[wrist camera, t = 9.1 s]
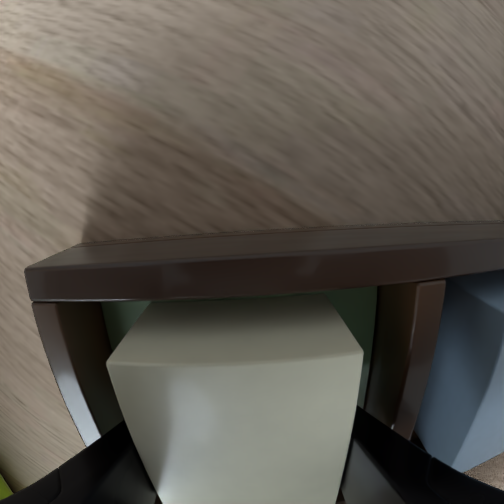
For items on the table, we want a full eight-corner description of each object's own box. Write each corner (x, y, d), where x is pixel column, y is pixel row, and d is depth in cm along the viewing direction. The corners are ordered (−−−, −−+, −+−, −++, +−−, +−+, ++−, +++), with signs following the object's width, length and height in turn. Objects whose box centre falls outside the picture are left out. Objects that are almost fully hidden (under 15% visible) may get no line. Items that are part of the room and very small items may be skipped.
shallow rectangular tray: (507, 402, 10) (536, 431, 8) (141, 462, 10) (126, 512, 7) (550, 220, 8) (598, 232, 6) (78, 243, 8) (22, 268, 6)
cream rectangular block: (315, 451, 9) (331, 518, 6) (185, 457, 9) (173, 524, 6) (325, 292, 8) (365, 351, 5) (148, 302, 8) (104, 362, 5)
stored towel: (494, 397, 9) (530, 435, 6) (411, 427, 9) (443, 481, 6) (529, 264, 8) (585, 288, 5) (443, 277, 8) (509, 314, 5)
